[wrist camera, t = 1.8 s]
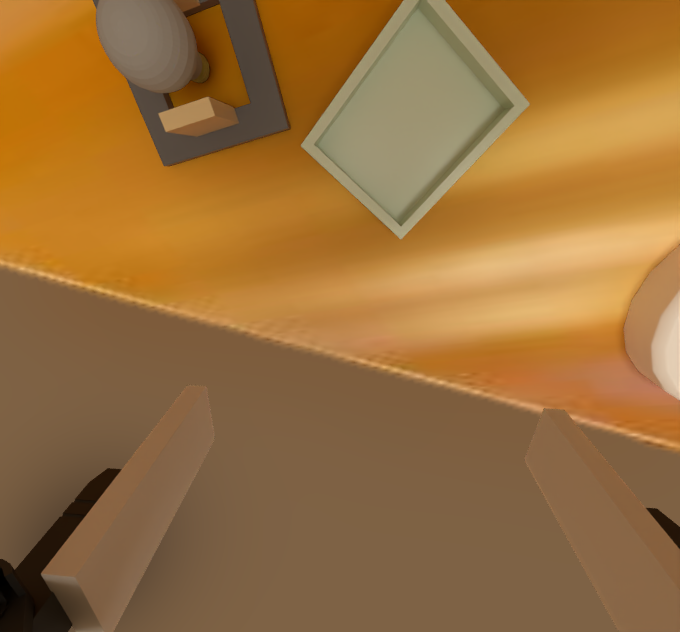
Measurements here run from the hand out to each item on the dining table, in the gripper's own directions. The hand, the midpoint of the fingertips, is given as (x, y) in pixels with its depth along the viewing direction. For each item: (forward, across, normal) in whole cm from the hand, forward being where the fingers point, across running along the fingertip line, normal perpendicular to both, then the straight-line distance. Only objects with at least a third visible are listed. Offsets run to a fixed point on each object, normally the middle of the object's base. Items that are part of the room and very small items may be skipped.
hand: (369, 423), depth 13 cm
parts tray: (+22, +3, +12) cm, 26 cm away
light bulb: (+23, -15, +16) cm, 32 cm away
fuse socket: (+23, -15, +16) cm, 31 cm away
